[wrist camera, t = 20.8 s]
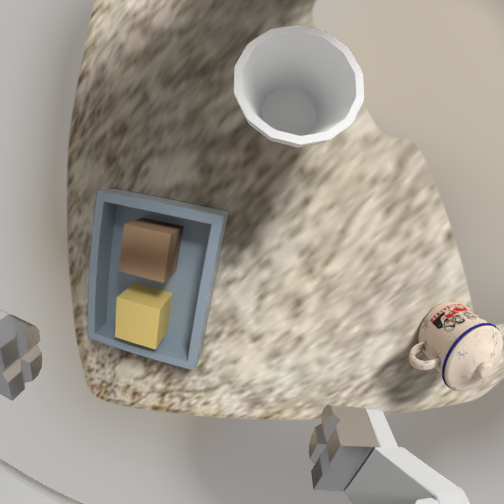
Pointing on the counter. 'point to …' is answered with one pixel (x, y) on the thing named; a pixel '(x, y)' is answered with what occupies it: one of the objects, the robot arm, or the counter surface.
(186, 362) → the tray
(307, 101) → the foam cup
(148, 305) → the mustard block
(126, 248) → the walnut block
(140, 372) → the counter surface
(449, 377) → the teacup with lid
